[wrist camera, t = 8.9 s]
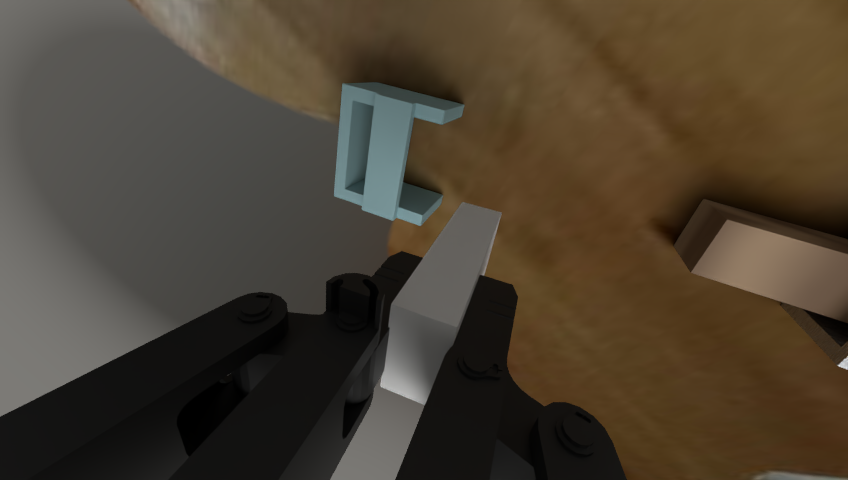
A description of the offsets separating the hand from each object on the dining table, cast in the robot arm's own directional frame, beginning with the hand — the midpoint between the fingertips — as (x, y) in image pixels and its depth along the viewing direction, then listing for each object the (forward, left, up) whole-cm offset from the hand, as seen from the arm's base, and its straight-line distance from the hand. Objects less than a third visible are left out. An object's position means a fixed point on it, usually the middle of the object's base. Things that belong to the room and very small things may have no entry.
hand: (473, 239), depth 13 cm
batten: (+18, -1, -14) cm, 23 cm away
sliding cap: (-8, -1, -14) cm, 16 cm away
